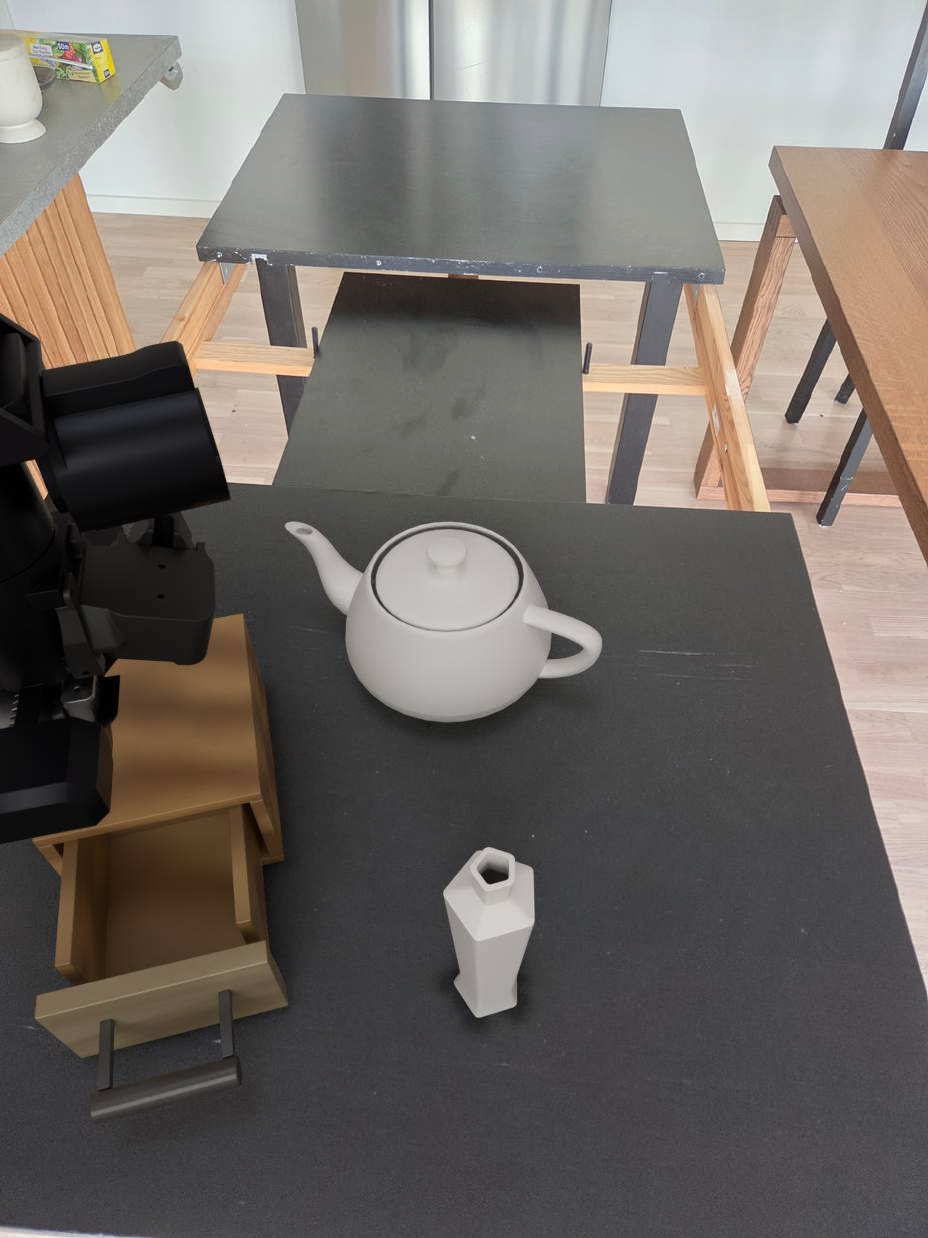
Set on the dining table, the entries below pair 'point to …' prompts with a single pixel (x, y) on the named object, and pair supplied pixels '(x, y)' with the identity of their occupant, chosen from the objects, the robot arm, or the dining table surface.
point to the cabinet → (189, 743)
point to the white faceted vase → (490, 928)
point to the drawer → (162, 950)
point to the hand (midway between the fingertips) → (103, 751)
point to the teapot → (447, 621)
